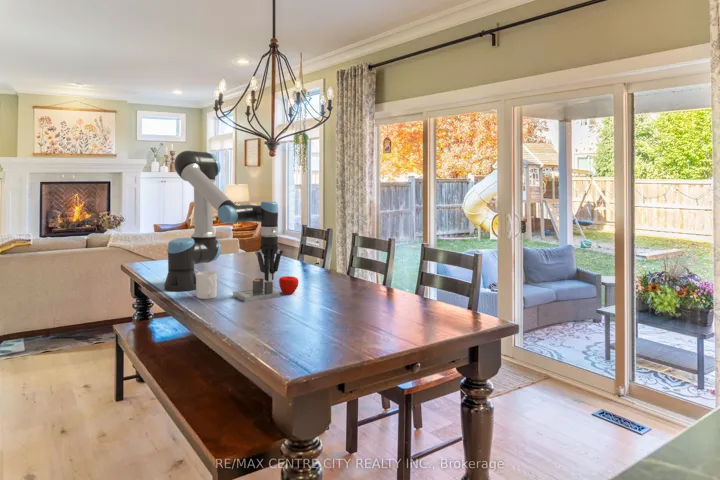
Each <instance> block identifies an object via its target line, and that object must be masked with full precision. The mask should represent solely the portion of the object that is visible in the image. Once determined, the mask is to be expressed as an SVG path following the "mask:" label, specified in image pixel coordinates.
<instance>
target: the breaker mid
mask: <svg viewBox="0 0 720 480" xmlns="http://www.w3.org/2000/svg"><path fill="white" fill-rule="evenodd" d="M252 290H253V292H254V293H257V292H261V281H260V280H255V279H253V280H252Z"/></svg>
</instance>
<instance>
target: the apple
mask: <svg viewBox="0 0 720 480" xmlns="http://www.w3.org/2000/svg"><path fill="white" fill-rule="evenodd" d="M278 279H279V280H278V284H279V287H280V288H279V289H280V291H281V293H282V294H283V295H293V294H294V293H295V292H296V291H297V288H298V286H299V279H298V277H296V276H288V275H285V276H281V277H280V278H278Z"/></svg>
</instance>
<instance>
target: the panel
mask: <svg viewBox="0 0 720 480" xmlns="http://www.w3.org/2000/svg"><path fill="white" fill-rule="evenodd" d="M232 297H234V298H236V299H238V300H240V301H242V302H245V303H247V302H255V301H261V300H267V299H268V300H270V299H277V298H281V292H279V291H276V290H274V289H273V293H269V294H266V293H264V287H263V289H262V290H261V292H257V293H254V292H253V289H248V290H237V291H232Z"/></svg>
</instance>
